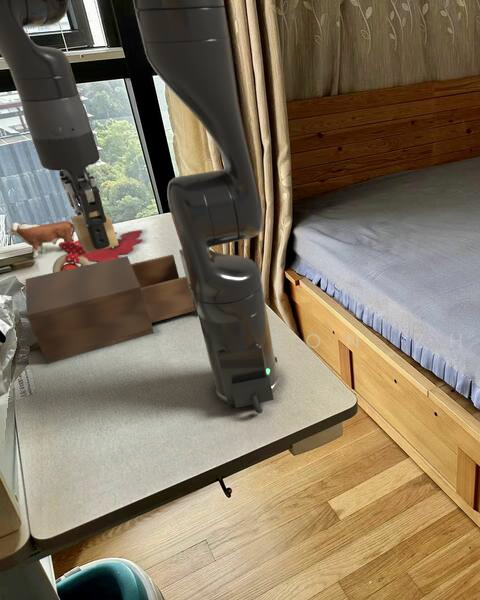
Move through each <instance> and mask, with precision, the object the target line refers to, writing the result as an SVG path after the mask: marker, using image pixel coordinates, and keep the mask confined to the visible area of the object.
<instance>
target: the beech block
mask: <svg viewBox="0 0 480 600" xmlns="http://www.w3.org/2000/svg"><path fill="white" fill-rule="evenodd" d="M104 214H105V217H106V219H107V220H106V223H103V224H104V227H105V230H106V233H107V236H108V239H109V242H110V245H109V246H108V247H105V248H102V249H95V248H94V246H93V244H92V241H91V238H90V235H89V232H88V229H87V227H86V225H85V224H84V219H83V217H82V215H78V216H77V215H75V216H74V215H73V216H71V217H70V220H71V223H72V224H73V226H74V229H75V231H74V233H75V234H76V237H77V241H78V240H79V243H80V245H81V246H82V248H83V249H84V250H85V252H86V253H87V254H88V253H91V252H95V251H99V250H103V249H106V248H110V247H114V246H118V245H119V244H118V241H117V239H118V238H117V234H115V229H114V225H113V222H112V219H111V217H110V216H109V215H108V214H107V213H106V212H105V211H104ZM89 216H90V217H94V216H98V215H97V213H96V211H95V212H91V213H89Z"/></svg>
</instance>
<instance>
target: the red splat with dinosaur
mask: <svg viewBox="0 0 480 600" xmlns="http://www.w3.org/2000/svg"><path fill="white" fill-rule="evenodd" d="M142 232H143V230H142V229H140V230H139V229H138V230H133V231H127V232H124V233H122V234H121V235H120V236H121V238H117V241H118V244H119V245H118V246H114V247H110V248H106V249H103V250H99V251H95V252H91V253H88V254H87V253H86V254H82V256H84V257H85V258H87V259H88V260H89V261H90V262H97V263H99V262H103V261H107V260H112V259H116V258H120V257H119V255H128V254H130V253H131V252H132V251H134V246H135V245H136V244H139V243H142V242H143V239H142V238H140V236H141V233H142ZM117 234H118V232H117V231H116V232H115V235H117Z"/></svg>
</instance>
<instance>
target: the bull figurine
mask: <svg viewBox="0 0 480 600" xmlns="http://www.w3.org/2000/svg"><path fill="white" fill-rule="evenodd" d="M9 230H10V231H9V232H8V233H9V236H16V237H17V238H19V239H21V240H22V241H23V242H24V243H25V244H27V245H29V246H31V247H32V250H33V255H32V259H37V258H38V257H39V253H38V251H39V248H40V254H44V253H45V252H46V251H47V249H46V248H44V245H43V244H53V245H56V244H57V242H58V241H59V240H63V242H68V241H74V242H75V234H74V233H75V229H74V226H73V223H72V221H68V220H63V221H57V222H52V223H45V224H27V223H26V222H22V223H21V224H20V223H19V222H13V223H12V225H11V226H10V227H9ZM60 249H61V250H62V251H64V250H63V249H62V248H61V247H60Z"/></svg>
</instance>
